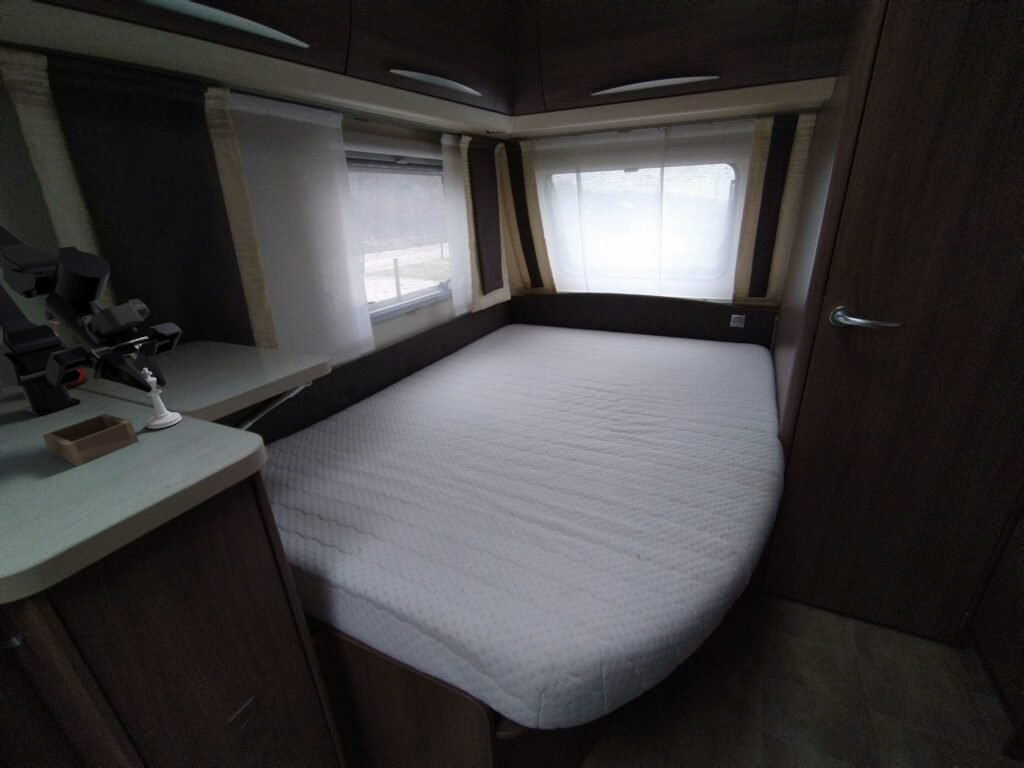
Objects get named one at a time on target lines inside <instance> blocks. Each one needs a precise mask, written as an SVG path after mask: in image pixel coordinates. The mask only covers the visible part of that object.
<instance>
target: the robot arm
mask: <svg viewBox="0 0 1024 768" xmlns="http://www.w3.org/2000/svg"><path fill="white" fill-rule="evenodd" d="M57 255H58V256H57ZM57 255H55V254H53V253H51V252H50V251H47V250H44V249H43V250H42V249H40V248H36V247H32V246H30V245H28V244H26V243H25V242H24V241H22V240H21V239H20V238H19V237H17V236H16V235H14V234H13V233H12V232H11V231H9V230H8V229H6V228H5V226H3V225H1V224H0V268H1V269H2V280H3V281H4V282H5V283H6V284H7V285H8V287H9V288H10V289H11V290H12V292H14V293H17V294H18V295H19V296H20V297H22V298H25V299H35V298H40V297H46V296H47V297H46V298H45V302H44V308H45V310H44V311H45V313H44V314H45V319H46V320H48V321H54V320H55V319H57V320H56V321H57V322H60V323H59V324H61V325H62V326H63V327H64V328H66V330H68V331H69V332H70V334H72V338H71V341H72V342H74V344H76V346H73V347H70V348H69V347H67V345H66V344H65V343H64V342H63V341H62V340H61V339H60V338H59V337H57V336H56V334H55V330H53V328H52V327H50V325H47V324H40V325H39V324H37V323H35V322H33V321H31V320H30V319H28V316H27V315H26V314H25V313H24V312H23V311H22V309H21V308H20V307H19V306H18V304H17V303H16V301H15V300H14V298H13V297H12V296H11V295H10V294H9V292H8V291H7V290H6V288H5V287H4V286H3V284H2V283H1V282H0V382H1V383H2V384H3V385H4V386H12V387H20V389H21V391H22V393H23V395H24V396H25V399H26V401H27V403H28V404H29V406H26V407H24V408H23V410H24V412H27V413H30V414H33V415H35V416H38V417H39V416H43V415H46V414H49V413H52V412H55V411H59V410H62V409H65V408H67V407H71V406H74V405H77V404H80V403H82V401H81V400H80V399H79V398H74V397H71V395H70V393H69V391H68V388H66V386H65V385H68V384H71V383H74V382H77V381H78V380H79V378H80V375H81V373H80V372H78V371H77V370H78V369H81V368H89V369H91V371H92V372H93V375H92V378H93V379H94V380H100V379H101V380H102V379H103V380H105V381H110V382H114V383H118V384H122V385H124V386H127V387H130V388H134V389H136V390H139V391H141V392H142V391H143V392H144V393H147V392H148V393H149V392H151V391H152V387H151V386H150V385H149V384H148V383H147V381H146V380H145V378H144V377H143V376H141V374H139V373H138V372H137V371H136V370H135V369H137V370H138V371H139V372H140V373H141V372H143V368H147V369H148V372H152V374H151V375H150V377H155V378H156V379H157V382H156V385H158V386H160V388H161V387H162V388H165V387H166V385H167V382H166V379H165V377H164V374H163V372H162V370H161V368H160V365H159V362H158V360H157V359H158V358H157V357H159V356H161V355H164V354H167V353H171V352H172V351H174V350H175V348H176V346H177V344H178V342H179V340H180V338H181V336H182V334H183V330H182V329H181V328H180V327H179V326H177V325H176V324H175V323H174V322H166V323H161V324H158V325H153V326H150V327H148V329H147V331H146V334H145V336H144V337H139V338H136V339H135V338H134V337H133V336H135V335H137V333H138V331H139V330H138V329H137V328H136V326H138V325H139V324H140V323H141V324H142V323H144V322H145V320H146V318H148V317H149V316H150V315H151V311H150V309H149V308H148V306H147V305H146V304H145V302H143V301H142V300H140V299H139V298H134V299H128V300H127V301H126V302H124V303H123V304H120V305H119V304H118V305H115V306H110V307H109V306H108V307H106V308H103V307H102V306H101V305H100V304H99V303H98V302H97V301H98V300H100V299H101V298H102V297H103V295H104V292H105V289H106V286H107V283H108V280H109V277H110V274H111V270H112V269H111V266H110V263H109V262H108V261H107V260H106V259H105V258H103V257H100V256H99V255H96V254H93V253H90V252H87V251H82V250H79V249H78V248H77V247H76V246H74V245H73V246H63V247H62V246H61V247H58V253H57ZM79 344H82V345H83V346H84V347H85V348H87V350H89V352H88V351H87V350H86V349H85V348H84V347H83V346H77V345H79ZM128 355H129V356H130V357H132V358H133V359H134V362H133V367H134V368H135V369H134V368H133V367H132V366H131V365H129V364H128V363H127V361H126V359H125V357H124V356H128Z"/></svg>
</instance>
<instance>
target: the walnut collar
mask: <svg viewBox="0 0 1024 768" xmlns="http://www.w3.org/2000/svg"><path fill="white" fill-rule="evenodd" d="M42 438H43V440H44V441H45V445H46V446H47V448H48V450H49V452H50V453H51V456H53V457H54V458H55V457H56V458H58V459H60V460H62V461H64V462H67V463H69V464H71V465H74V466H76V467H79V466H81V465H84V464H87V463H88V462H91V461H93V460H97V459H98V458H101V457H104V456H106V455H108V454H110V453H112V452H116V451H118V450H121V449H122V448H125V447H127V446H131V445H132V444H134V443H138V442H139V438H138V436H137V433H136V432H135V429H134V427H133V424H132V422H131V421H129V420H126V419H123V418H121V417H117V416H113V415H111V414H107V413H103V414H100V415H97V416H93V417H91V418H88V419H86V420H83V421H79V422H76V423H74V424H71V425H68V426H65V427H63V428H60V429H59V428H58V429H56V430H54V431H50V432H48V433H45V434H42Z"/></svg>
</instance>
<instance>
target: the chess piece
mask: <svg viewBox="0 0 1024 768" xmlns="http://www.w3.org/2000/svg"><path fill="white" fill-rule="evenodd" d="M151 374H152V372H148V369H147V368H143V372H141V371H140V375H144V377H145V378H144V379H145V380H146V381H147V383H148V384H149V385H150V386H151V387H152V391H151V392H149V393H148V392H145V395H146V396H149V397H150V396H151V400H152V405H153V409H154V414H153V416H152V417H150V418H149V419H148V420H147V421H146V428H148V429H153V430H155V429H156V430H157V429H161V428H166V427H170V426H172V425H175V424H177V423H179V422H180V421H181V420H182V418H183V417H182V416H181V414H180V412H174V411H172V412H171V410H167V408H166V406H165V404H164V403H163V401H162V400H161V397H160V395H159V394H161V393H162V392H163V391H162V390H161V389H159V388H158V389H157V384H156V382H157V379H156V378H155V377H150V375H151Z"/></svg>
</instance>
